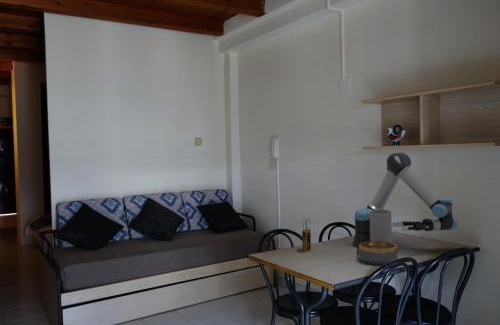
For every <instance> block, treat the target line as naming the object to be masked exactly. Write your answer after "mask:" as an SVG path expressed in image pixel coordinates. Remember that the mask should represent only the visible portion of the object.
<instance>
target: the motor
mask: <svg viewBox="0 0 500 325" xmlns="http://www.w3.org/2000/svg"><path fill="white" fill-rule="evenodd" d="M356 255H357V256H358V261H359V263H362V264H365V265H367V266H368V265H370V266H378V267H380V266H381V267H383V266H382V265H385V264H387V263H389V262H392V261H394V260H397V259H399V256H398V255H399V253H398V245H397V244H396V243H394V242H392V243H389V242H382V241H368V242H362V243H360V244H359V247H356Z"/></svg>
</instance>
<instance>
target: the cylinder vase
mask: <svg viewBox="0 0 500 325" xmlns="http://www.w3.org/2000/svg"><path fill="white" fill-rule="evenodd" d="M392 221H393V220H392V211H391V210H388V209H387V210H386V209H384V210H372V211H370V238H371V241H382V242H389V243H393V224H392V223H393V222H392Z"/></svg>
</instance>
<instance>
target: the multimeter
mask: <svg viewBox="0 0 500 325" xmlns="http://www.w3.org/2000/svg"><path fill="white" fill-rule="evenodd" d="M308 220H309V221H311V219H310V218H307V219H305V220H303V222H302V228H303V230H302V231H301V236H302V237H301V238H302V239H301V243H302V245H301V246H302V247H300V248H299V247H296V249H297V250H298V252H299V253H301V254H303V253H304V252H308V251H310V250H312V240H311V238H312V233H311V232H312V231H311V228H308ZM304 223H305V226H304ZM301 249H302V252H301Z"/></svg>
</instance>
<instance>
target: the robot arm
mask: <svg viewBox="0 0 500 325" xmlns="http://www.w3.org/2000/svg"><path fill="white" fill-rule="evenodd" d="M385 163H386V173H385V176H384V177H383V180H382V182H381V184H380V186H379V188H378V189H377V191H376V193H375V195H374V197H373V199H372V202H370V203H368V204H367V206H366V207H365V208H359V209H356V210H355V211H354V237H353V240H352V246H353V247H355V248H359V244H360V243H362V242H368V241H371V238H370V211H372V210H385V207H386V205H387V203H388V201H389V200H390V197H391V195H392V193H393V191H394V189H395V187H396V186H397V184H398V181H399V179H400V180H401V181H402V182H403V183H404V184H405V185H406V186H408V188H409V189H410V190H411V191H412V192H413V193H414V194H416V196H417V197H418V199H420V200H421V201H422V202H423V203H424V204H425V205H426V206H427V207H428V208H429V209H430V210H431V212H432V214H433V216H434V217H431V218H423V219H422V222H421V221H418V220H417V221H411V220H410V221H409V220H408V221H405V220H404V221H402V220H401V221H396V222H392V228H399V227H400V228H402V229H401V230H402V231H403V232H405V231H406V232H407V231H417V232H419V231H425V232H431V231H432V232H433V231H434V232H437V231H451V230H455V229H456V228H457V227H458V222H457V218H455V217H454V216H453V202H452V201H453V200H452V198H448V197H444V198H443V197H441V198H438V197H437V196H436V194H435V193H433V191H432V190H430V188H428V187H427V185H426V184H425V183H423V182H422V180H420V179H419V177H418V176H416V175H415V173H414V172H413V171H411V170H410V168H411V166H412V160H411V157H410V156H409V155H408V154H407V153H405V152H394V153H391V154H389V155H388V157H387V158H386V162H385Z"/></svg>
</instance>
